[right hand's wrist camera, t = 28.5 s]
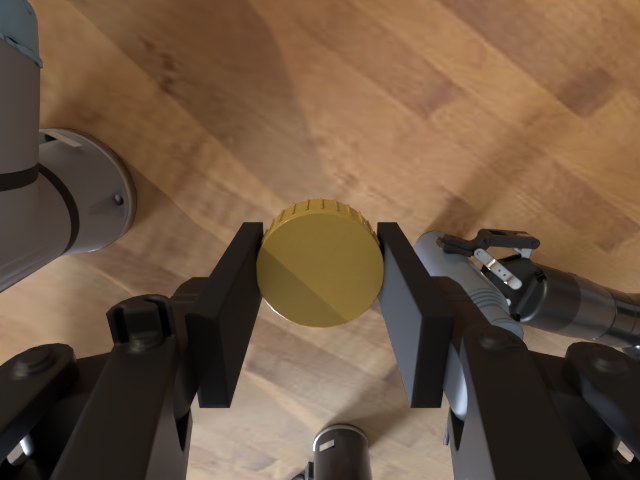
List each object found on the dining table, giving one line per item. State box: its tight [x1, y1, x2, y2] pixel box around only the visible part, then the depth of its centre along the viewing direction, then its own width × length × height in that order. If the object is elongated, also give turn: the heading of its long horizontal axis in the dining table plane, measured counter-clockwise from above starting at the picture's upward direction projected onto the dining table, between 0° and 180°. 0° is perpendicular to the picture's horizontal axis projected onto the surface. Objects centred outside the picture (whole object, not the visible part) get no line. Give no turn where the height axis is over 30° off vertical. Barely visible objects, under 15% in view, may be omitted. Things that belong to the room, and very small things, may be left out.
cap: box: [256, 198, 384, 328], centre depth 13 cm, size 5×5×2 cm
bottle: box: [414, 231, 523, 340], centre depth 38 cm, size 5×5×20 cm
